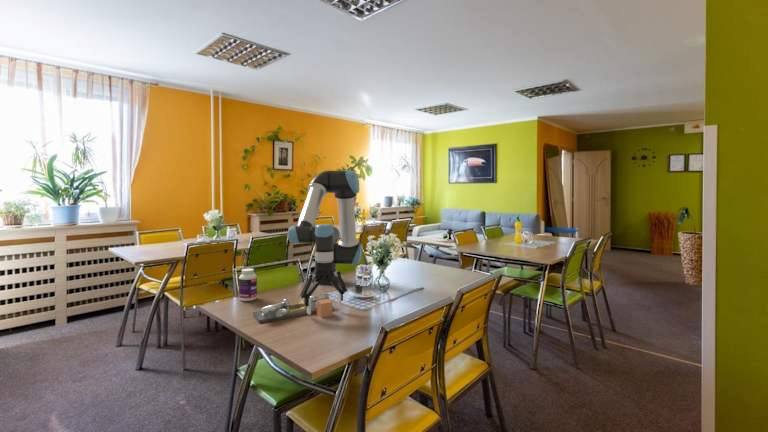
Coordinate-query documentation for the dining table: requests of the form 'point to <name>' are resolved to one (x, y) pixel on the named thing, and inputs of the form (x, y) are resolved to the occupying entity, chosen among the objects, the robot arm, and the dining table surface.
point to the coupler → (324, 308)
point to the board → (288, 312)
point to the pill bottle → (247, 285)
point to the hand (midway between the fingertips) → (324, 311)
